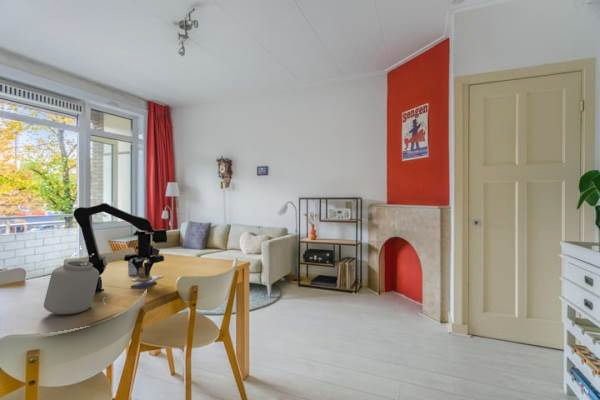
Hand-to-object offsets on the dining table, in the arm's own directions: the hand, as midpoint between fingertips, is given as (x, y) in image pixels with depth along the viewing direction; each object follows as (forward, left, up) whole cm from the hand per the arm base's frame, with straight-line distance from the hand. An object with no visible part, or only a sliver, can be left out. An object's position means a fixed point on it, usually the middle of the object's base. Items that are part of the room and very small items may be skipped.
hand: (144, 275), depth 142 cm
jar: (-33, +2, -5) cm, 33 cm away
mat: (+10, +7, -5) cm, 14 cm away
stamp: (0, 0, -2) cm, 3 cm away
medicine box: (+18, +22, -5) cm, 29 cm away
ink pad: (0, 0, -5) cm, 5 cm away
